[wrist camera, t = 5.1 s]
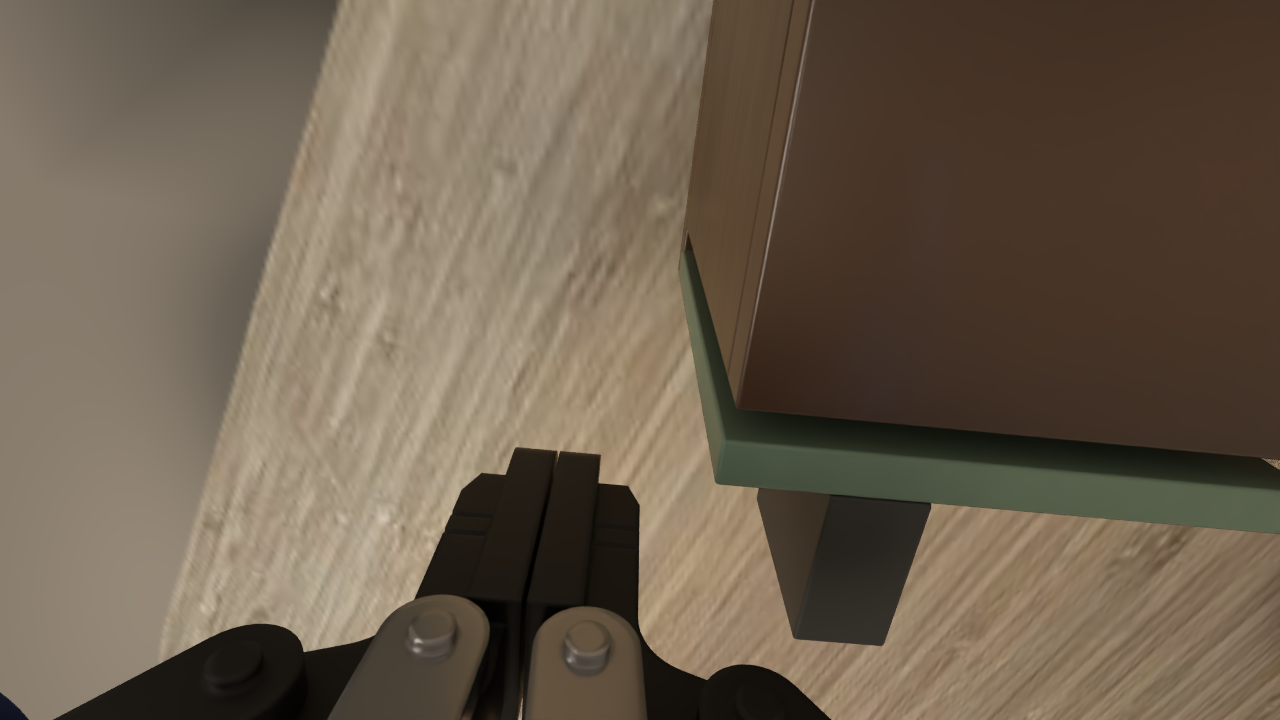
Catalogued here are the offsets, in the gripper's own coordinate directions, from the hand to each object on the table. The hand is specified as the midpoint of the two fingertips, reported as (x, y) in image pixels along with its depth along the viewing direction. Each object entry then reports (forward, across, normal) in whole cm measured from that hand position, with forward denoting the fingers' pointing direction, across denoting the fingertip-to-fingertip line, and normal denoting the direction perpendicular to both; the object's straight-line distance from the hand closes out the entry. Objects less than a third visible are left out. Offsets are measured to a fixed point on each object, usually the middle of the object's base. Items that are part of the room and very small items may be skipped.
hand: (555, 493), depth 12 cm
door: (+10, -7, 0) cm, 12 cm away
